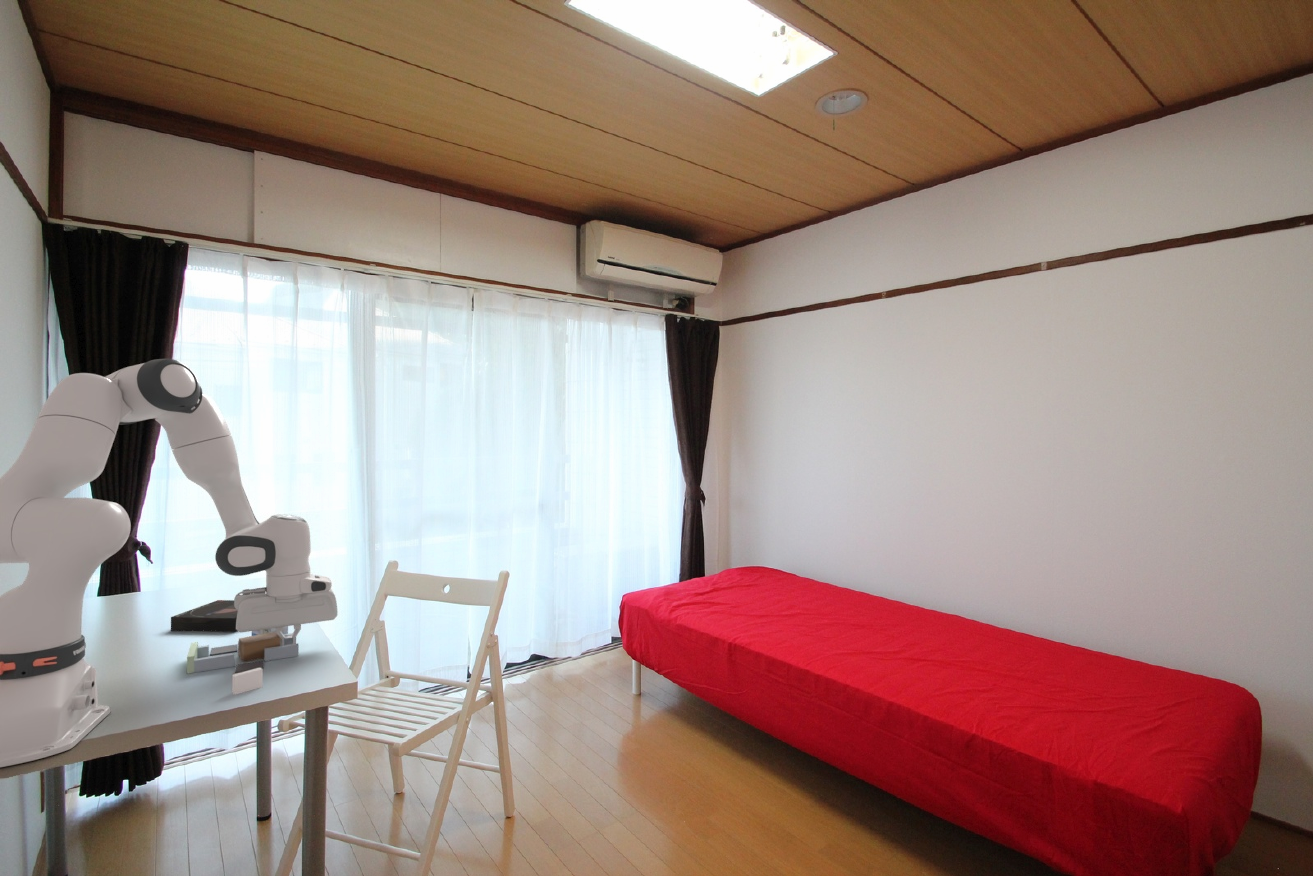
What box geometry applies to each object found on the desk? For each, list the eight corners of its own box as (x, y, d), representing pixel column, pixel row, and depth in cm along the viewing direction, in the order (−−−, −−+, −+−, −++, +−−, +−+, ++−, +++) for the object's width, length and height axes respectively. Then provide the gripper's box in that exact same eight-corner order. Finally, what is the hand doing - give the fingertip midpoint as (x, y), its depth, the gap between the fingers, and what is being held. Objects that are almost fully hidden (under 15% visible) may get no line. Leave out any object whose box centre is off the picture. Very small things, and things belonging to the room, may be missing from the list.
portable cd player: (236, 634, 157) (237, 618, 157) (170, 632, 158) (170, 617, 158) (278, 615, 174) (278, 601, 174) (217, 614, 174) (218, 600, 174)
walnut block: (279, 654, 141) (279, 637, 141) (243, 662, 137) (243, 643, 137) (274, 648, 145) (274, 631, 145) (238, 656, 140) (238, 638, 140)
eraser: (231, 693, 120) (232, 674, 120) (259, 685, 124) (260, 667, 124) (234, 695, 120) (234, 676, 120) (262, 687, 123) (262, 668, 123)
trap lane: (299, 662, 136) (299, 646, 136) (184, 681, 125) (184, 664, 125) (294, 637, 154) (294, 623, 154) (193, 652, 143) (193, 636, 143)
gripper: (233, 593, 135) (233, 657, 135) (338, 582, 147) (338, 640, 146) (234, 587, 141) (234, 648, 141) (335, 577, 152) (335, 633, 152)
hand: (288, 644), depth 144 cm, fingers closed
